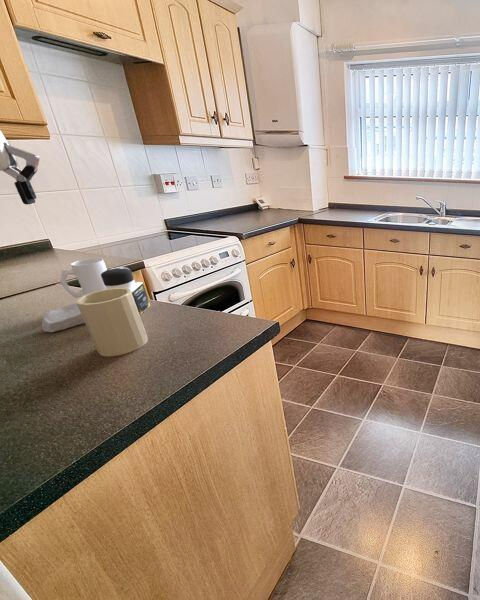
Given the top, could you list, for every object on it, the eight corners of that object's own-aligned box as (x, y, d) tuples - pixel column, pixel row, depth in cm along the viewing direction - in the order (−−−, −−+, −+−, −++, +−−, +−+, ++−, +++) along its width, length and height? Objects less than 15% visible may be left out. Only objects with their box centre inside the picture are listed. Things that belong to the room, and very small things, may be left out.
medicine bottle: (140, 316, 88) (125, 272, 83) (108, 320, 86) (90, 275, 81) (151, 305, 94) (136, 264, 89) (121, 308, 92) (105, 266, 87)
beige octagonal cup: (93, 360, 69) (69, 307, 64) (104, 341, 76) (83, 292, 71) (144, 349, 73) (125, 299, 68) (150, 332, 80) (134, 285, 75)
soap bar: (58, 344, 81) (41, 330, 77) (47, 332, 84) (29, 317, 79) (103, 318, 87) (89, 304, 83) (90, 307, 89) (76, 292, 85)
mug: (117, 295, 101) (102, 256, 96) (119, 301, 96) (103, 261, 91) (72, 304, 95) (54, 263, 90) (72, 312, 90) (52, 269, 85)
